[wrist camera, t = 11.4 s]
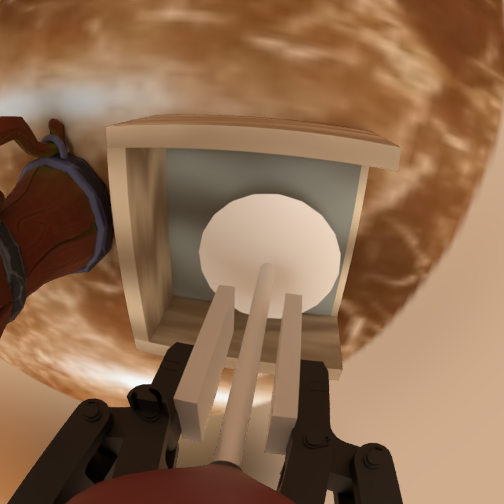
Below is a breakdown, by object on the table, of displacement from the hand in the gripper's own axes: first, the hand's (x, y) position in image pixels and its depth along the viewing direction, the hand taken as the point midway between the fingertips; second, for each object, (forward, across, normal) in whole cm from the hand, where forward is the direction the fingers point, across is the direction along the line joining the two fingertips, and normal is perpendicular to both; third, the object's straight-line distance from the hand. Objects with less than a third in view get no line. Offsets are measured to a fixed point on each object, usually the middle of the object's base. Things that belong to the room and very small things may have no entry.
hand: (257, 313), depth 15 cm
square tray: (+10, -2, 0) cm, 10 cm away
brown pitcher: (+10, -19, +3) cm, 21 cm away
